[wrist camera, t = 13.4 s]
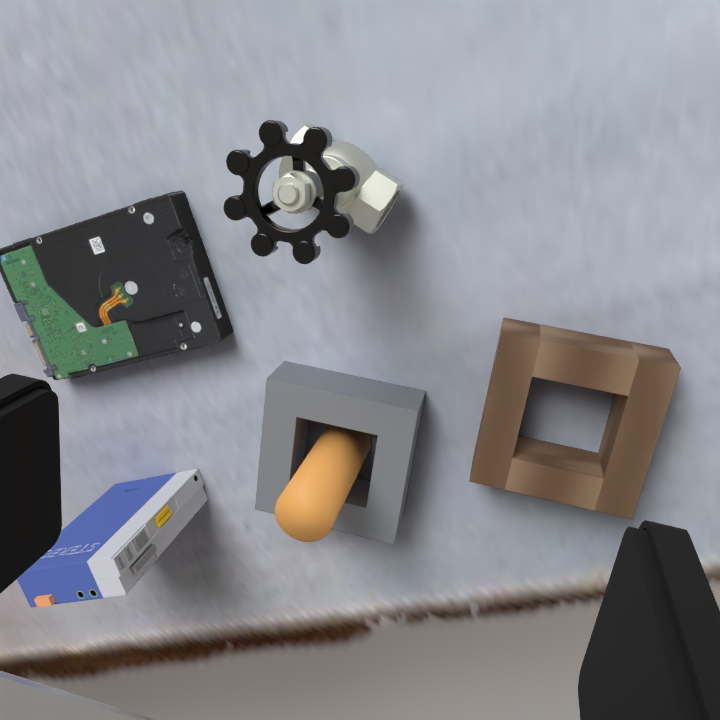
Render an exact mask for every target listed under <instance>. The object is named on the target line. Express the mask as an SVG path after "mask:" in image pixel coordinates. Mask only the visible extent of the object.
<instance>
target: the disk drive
mask: <svg viewBox="0 0 720 720" xmlns="http://www.w3.org/2000/svg"><path fill="white" fill-rule="evenodd" d="M0 273H1V275H2V277H3V279H4V282H5V284H6V286H7V289H8V291H9V293H10V296H11V297H12V300H13V302H15V304H14V306H15V309H16V311H17V313H18V315H19V317H20V320H21V322H23V321H27V322H28V324H27V323H26V327H27V329H28V331H29V333H30V337H34V338H35V340H33V341H32V342H33V343H34V345H35V347H36V349H37V352H38V354H39V356H40V358H41V361H42V363H43V365H44V366H47V369H46V370H44V373H45V374H46V375H47V377H53V379H55V380H60V379H65V378H69V377H70V378H76V377H80V376H84V375H86V374H90V373H94V372H98V371H102V370H106V369H111V368H115V367H119V366H123V365H126V364H131V363H135V362H139V361H143V360H147V359H151V358H155V357H159V356H163V355H167V354H172V353H175V352H179V351H183V350H189V349H195V348H199V347H202V346H205V345H208V344H212V343H215V342H220V341H221V340H223V339H224V338H226V337H227V336H228V335H230V334H231V333H232V332H233V328H232V325H231V322H230V320H229V317H228V314H227V312H226V309H225V305H224V302H223V299H222V297H221V294H220V291H219V288H218V285H217V282H216V279H215V277H214V274H213V271H212V268H211V265H210V262H209V259H208V257H207V254H206V251H205V248H204V245H203V242H202V240H201V237H200V234H199V231H198V228H197V225H196V222H195V220H194V217H193V215H192V212H191V209H190V207H189V203H188V200H187V198H186V195H185V192H184V191H178V192H172V193H168V194H164V195H162V196H158V197H155V198H149V199H147V200H143V201H140V202H138V203H135V204H133V205H132V206H128V207H124V208H121V209H119V210H115V211H113V212H109V213H106V214H104V215H101V216H98V217H94V218H91V219H88V220H85V221H82V222H79V223H76V224H73V225H70V226H68V227H65V228H62V229H58V230H55V231H52V232H49V233H46V234H43V235H40V236H37V237H34V238H29V239H26V240H22V241H20V242H16V243H14V244H13V245H10V246H8V247H4V248H1V249H0Z"/></svg>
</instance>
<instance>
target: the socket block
mask: <svg viewBox="0 0 720 720" xmlns="http://www.w3.org/2000/svg"><path fill="white" fill-rule="evenodd" d="M425 392H426V391H423V390H418V389H413V388H409V387H404V386H399V385H394V384H390V383H385V382H380V381H376V380H371V379H366V378H361V377H357V376H352V375H347V374H343V373H338V372H333V371H329V370H324V369H319V368H314V367H310V366H305V365H300V364H296V363H291V362H286V361H284V362H283V363H282V364H281V365H280V366H279V367H278V368H277V369H276V370H275V371H274V372H273V373H272V374H271V375H270V376H269V377H268V378H267V383H266V394H265V405H264V416H263V427H262V438H261V449H260V460H259V471H258V482H257V493H256V504H255V509H256V510H260V511H264V512H268V513H272V514H275V505H276V502H277V500H278V498H279V497H280V495H281V494H282V492H283V491H284V489H285V488H286V486H287V485H288V483H289V482H290V480H291V479H292V477H293V476H294V474H295V473H296V471H297V470H298V468H299V467H300V465H301V464H302V462H303V461H304V459H305V453H306V444H307V436H308V427H309V420H312V421H317V422H321V423H325V424H330V425H334V426H339V427H343V428H348V429H352V430H356V431H361V432H365V433H370V434H374V435H378V438H377V444H376V450H375V456H374V463H373V469H372V475H371V481H366V480H362V479H358V478H356V479H355V481H354V483H353V485H352V487H351V489H350V491H349V493H348V495H347V497H346V500H345V502H344V504H343V506H342V508H341V510H340V512H339V514H338V516H337V518H336V520H335V522H334V524H333V526H332V528H331V529H335V530H339V531H343V532H347V533H351V534H354V535H358V536H362V537H366V538H370V539H374V540H378V541H382V542H386V543H390V544H394V543H395V540H396V537H397V533H398V530H399V527H400V524H401V521H402V518H403V513H404V507H405V502H406V496H407V491H408V485H409V480H410V474H411V469H412V463H413V458H414V452H415V447H416V441H417V436H418V430H419V425H420V419H421V414H422V408H423V403H424V397H425Z"/></svg>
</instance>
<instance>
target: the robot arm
mask: <svg viewBox="0 0 720 720" xmlns="http://www.w3.org/2000/svg"><path fill="white" fill-rule="evenodd" d="M61 527H62V515H61V478H60V442H59V406H58V397H57V395H56V393H54V392H53V391H52V390H51V387H50V385H49V384H48V383H47V382H46V381H43V380H39V379H35V378H30V377H26V376H22V375H17V374H10V375H7V376H4V377H2V378H0V593H1V592H2V591H4V590H5V589H6V588H7V587H8V586H9V585H10V584H11V583H13V582H14V581H15V580H16V579H17V578H18V577H19V576H21V575H22V574H23V573H24V572H25V571H26V570H27V569H28V568H30V567H31V566H32V565H33V564H34V563H35V562H36V561H37V560H39V559H40V558H41V557H42V556H43V555H44V554H45V553H46V552H48V551H49V550H50V549H51V548H52V547H53V546H54V545H55V543H56V542H57V540H58V538H59V536H60V532H61ZM578 697H579V707H580V718H581V720H720V611H719V608H718V606H717V603H716V601H715V598H714V596H713V593H712V590H711V588H710V585H709V583H708V580H707V578H706V575H705V573H704V570H703V568H702V565H701V563H700V560H699V558H698V555H697V553H696V550H695V548H694V545H693V543H692V540H691V538H690V535H689V533H688V532H687V530H684V529H681V528H676V527H672V526H668V525H663V524H659V523H655V522H650V521H646V520H645V521H644V522H642V524H641V526H640V527H639V529H637V528H633V527H628V528H627V529H626V531H625V533H624V535H623V538H622V541H621V545H620V548H619V551H618V554H617V557H616V560H615V563H614V566H613V570H612V573H611V576H610V579H609V582H608V585H607V588H606V591H605V595H604V598H603V601H602V604H601V607H600V610H599V613H598V616H597V620H596V623H595V626H594V629H593V632H592V635H591V639H590V642H589V644H588V648H587V651H586V654H585V657H584V660H583V663H582V666H581V670H580V676H579V683H578ZM0 720H154V719H151V718H148V717H144V716H141V715H138V714H135V713H132V712H129V711H126V710H122V709H119V708H116V707H113V706H110V705H107V704H104V703H101V702H97V701H94V700H91V699H88V698H85V697H82V696H78V695H75V694H72V693H69V692H66V691H62V690H60V689H56V688H53V687H50V686H47V685H44V684H41V683H37V682H34V681H31V680H28V679H25V678H22V677H18V676H15V675H12V674H9V673H6V672H3V671H0Z"/></svg>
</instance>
